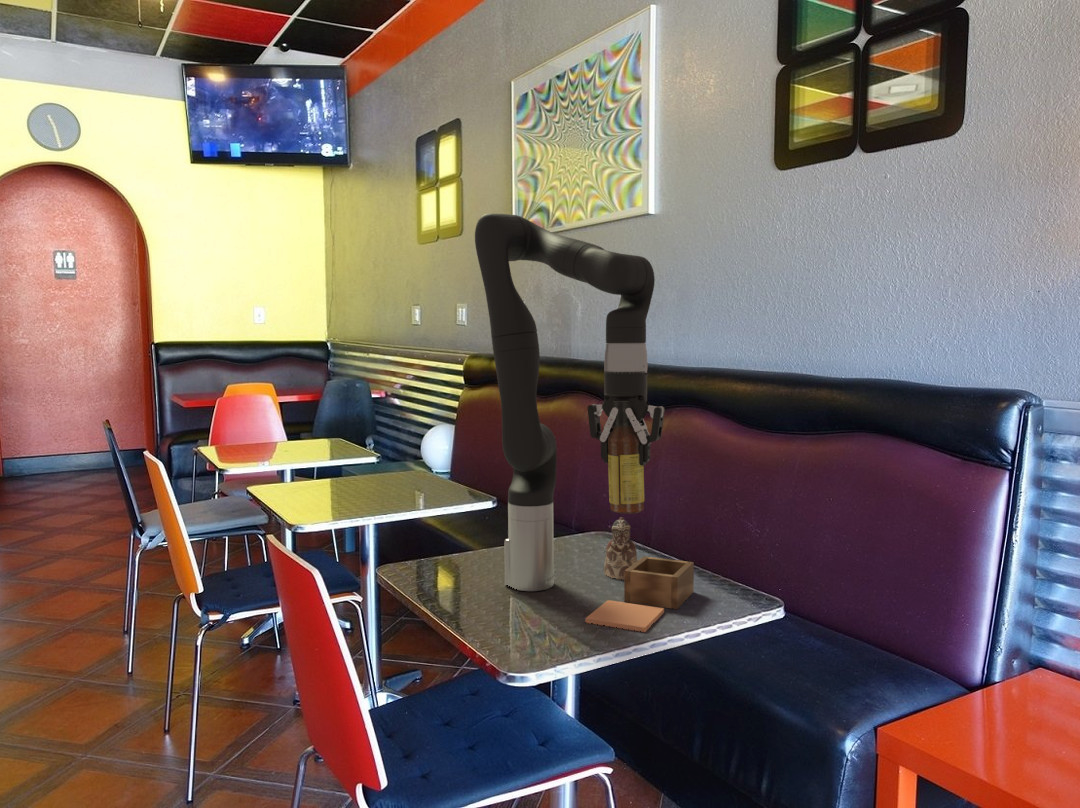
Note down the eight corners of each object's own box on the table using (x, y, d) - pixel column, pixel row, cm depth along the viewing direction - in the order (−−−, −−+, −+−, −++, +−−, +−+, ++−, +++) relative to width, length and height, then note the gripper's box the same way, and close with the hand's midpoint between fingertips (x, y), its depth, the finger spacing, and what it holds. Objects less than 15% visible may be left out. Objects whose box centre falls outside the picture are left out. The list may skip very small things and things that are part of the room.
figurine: (601, 577, 165) (601, 521, 164) (607, 568, 172) (608, 514, 171) (634, 580, 163) (634, 523, 162) (640, 571, 170) (640, 516, 169)
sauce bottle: (649, 509, 140) (650, 399, 139) (635, 516, 135) (636, 401, 133) (616, 506, 144) (617, 398, 142) (601, 512, 138) (602, 400, 137)
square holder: (624, 601, 149) (624, 570, 149) (643, 585, 160) (643, 556, 159) (677, 609, 145) (677, 577, 144) (693, 591, 155) (693, 562, 155)
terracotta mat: (585, 622, 138) (585, 618, 138) (607, 604, 148) (607, 600, 148) (645, 632, 133) (645, 627, 133) (664, 612, 143) (664, 608, 143)
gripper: (579, 369, 137) (579, 464, 139) (658, 370, 131) (658, 469, 132) (595, 368, 144) (595, 458, 145) (671, 369, 138) (670, 463, 139)
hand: (625, 463), depth 139 cm, fingers closed on sauce bottle, 6 cm apart
